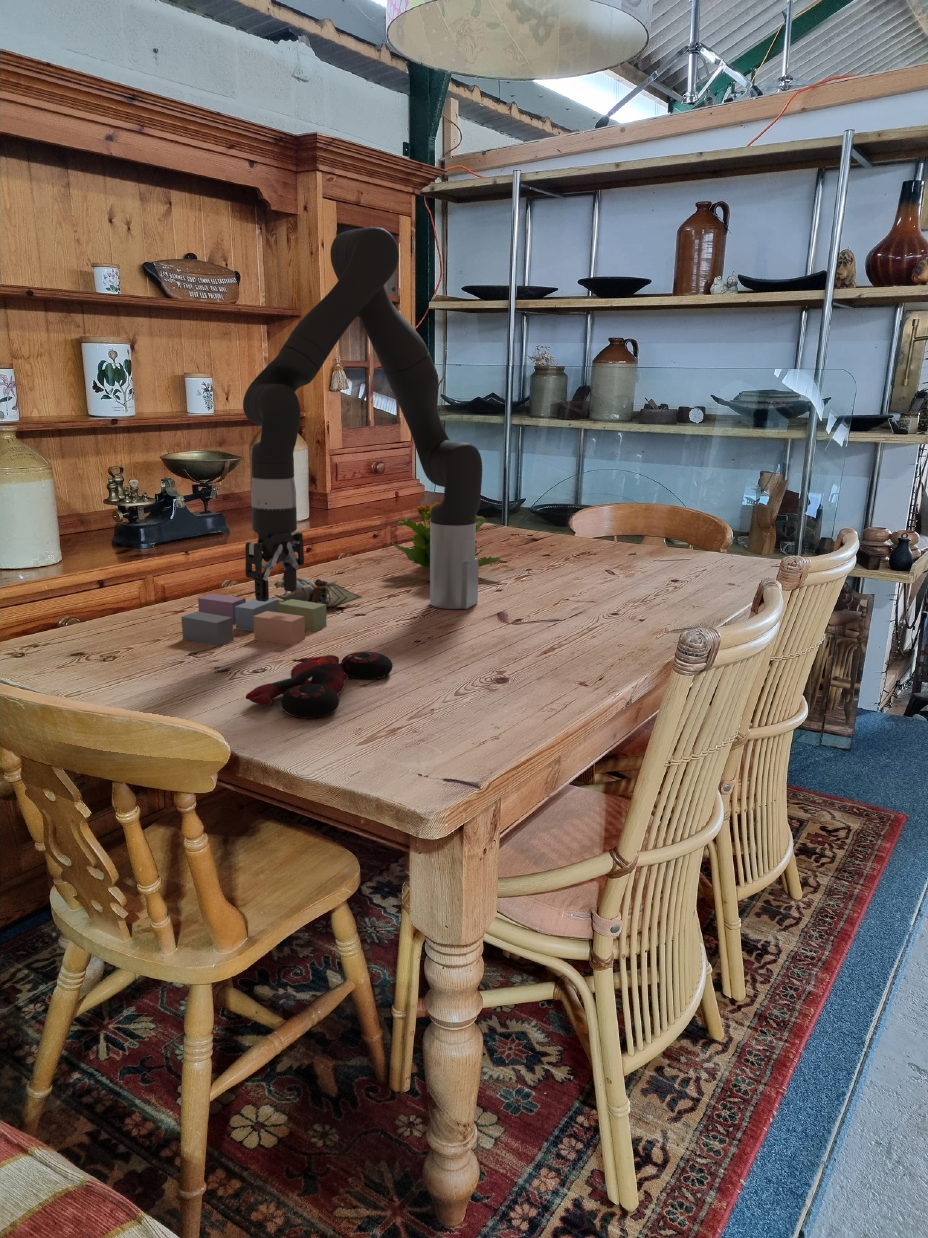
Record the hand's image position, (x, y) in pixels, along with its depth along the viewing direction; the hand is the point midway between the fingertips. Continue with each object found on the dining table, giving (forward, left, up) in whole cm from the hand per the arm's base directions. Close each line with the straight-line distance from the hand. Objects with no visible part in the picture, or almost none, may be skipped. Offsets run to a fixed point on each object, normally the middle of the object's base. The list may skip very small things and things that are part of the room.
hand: (276, 595), depth 153 cm
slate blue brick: (+9, -6, -8) cm, 14 cm away
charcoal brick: (+11, +6, -8) cm, 15 cm away
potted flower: (-7, -61, -8) cm, 62 cm away
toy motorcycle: (-20, +19, -9) cm, 28 cm away
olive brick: (+1, -9, -8) cm, 12 cm away
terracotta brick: (0, 0, -8) cm, 8 cm away
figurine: (+6, -24, -9) cm, 26 cm away
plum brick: (+17, -6, -8) cm, 20 cm away
